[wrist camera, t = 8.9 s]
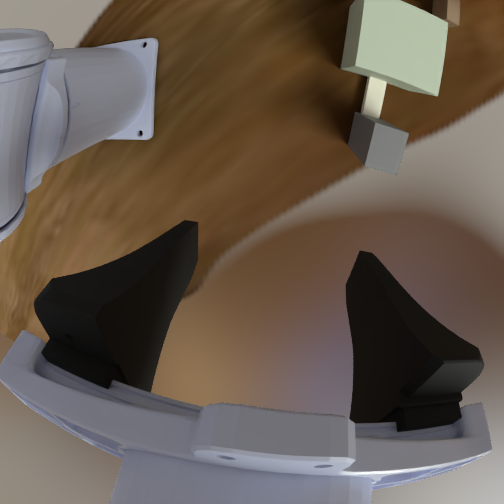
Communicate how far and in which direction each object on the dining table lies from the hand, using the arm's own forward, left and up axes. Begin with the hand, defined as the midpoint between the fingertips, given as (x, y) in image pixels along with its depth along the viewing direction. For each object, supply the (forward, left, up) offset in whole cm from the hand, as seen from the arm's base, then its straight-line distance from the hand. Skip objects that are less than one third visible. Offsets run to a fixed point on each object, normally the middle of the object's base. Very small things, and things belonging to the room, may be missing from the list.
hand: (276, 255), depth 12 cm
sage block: (+5, +9, -9) cm, 14 cm away
